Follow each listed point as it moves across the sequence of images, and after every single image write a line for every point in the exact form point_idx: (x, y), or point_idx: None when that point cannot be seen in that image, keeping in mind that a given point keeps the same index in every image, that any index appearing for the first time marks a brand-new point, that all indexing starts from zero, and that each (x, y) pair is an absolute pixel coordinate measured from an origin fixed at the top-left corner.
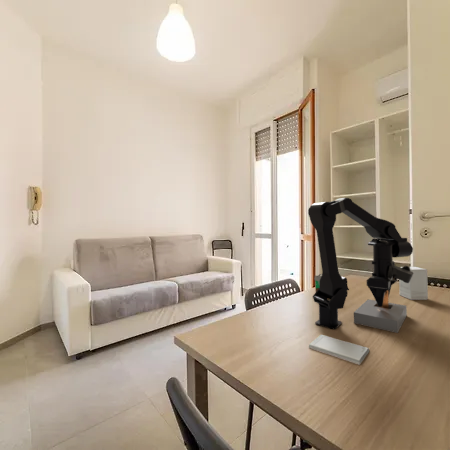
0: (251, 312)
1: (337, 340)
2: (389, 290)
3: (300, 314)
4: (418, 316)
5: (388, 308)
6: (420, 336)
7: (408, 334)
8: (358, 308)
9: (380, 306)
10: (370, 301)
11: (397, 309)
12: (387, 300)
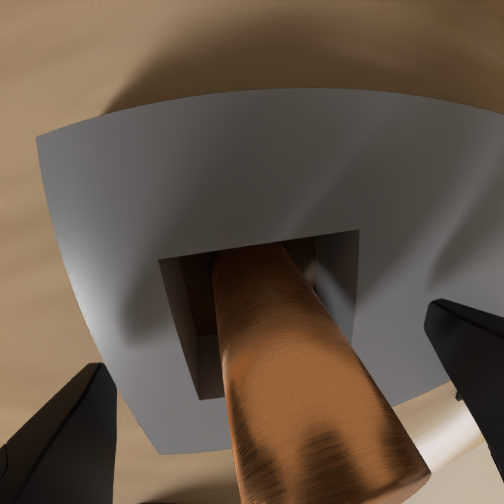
0: (446, 462)
1: None
2: (41, 464)
3: (432, 439)
4: (41, 67)
5: (263, 270)
6: (461, 19)
7: (477, 70)
8: (443, 382)
9: (435, 309)
10: (210, 434)
11: (317, 160)
12: (325, 336)
